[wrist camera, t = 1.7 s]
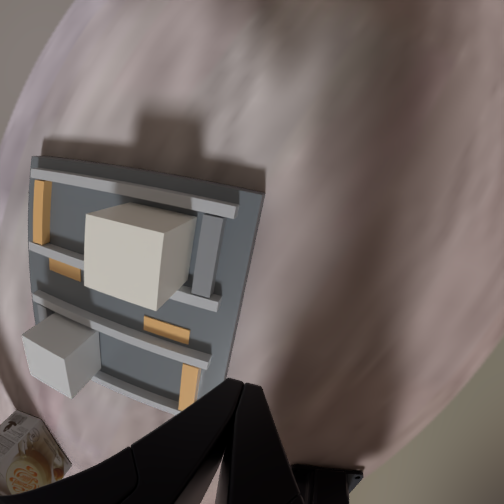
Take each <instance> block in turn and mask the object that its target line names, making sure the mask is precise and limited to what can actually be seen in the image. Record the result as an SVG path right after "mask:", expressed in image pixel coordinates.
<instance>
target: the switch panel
mask: <svg viewBox="0 0 504 504" xmlns="http://www.w3.org/2000/svg"><path fill="white" fill-rule="evenodd" d="M264 197H265V193H263V192H258V191H254V190H249V189H244V188H240V187H235V186H230V185H225V184H220V183H215V182H210V181H205V180H200V179H195V178H189V177H184V176H178V175H173V174H167V173H161V172H156V171H150V170H144V169H137V168H131V167H125V166H118V165H111V164H105V163H98V162H90V161H83V160H75V159H67V158H59V157H50V156H32V159H31V169H30V183H29V202H28V249H29V269H30V282H31V292H32V302H33V310H34V317H35V324H36V325H37V324H38V323H40V322H41V321H43V320H44V319H46V318H47V317H49V316H50V315H52V314H53V313H55V312H57V313H59V314H61V315H63V316H65V317H68V318H70V319H72V320H74V321H76V322H79V323H81V324H83V325H85V326H88V327H90V328H92V329H95V330H97V331H99V344H100V358H101V369H100V370H99V371H98V372H97V373H96V374H95V375H94V377H93V378H92V379H91V380H92V381H94V382H96V383H98V384H100V385H102V386H104V387H106V388H109V389H111V390H113V391H115V392H118V393H120V394H122V395H124V396H127V397H129V398H132V399H134V400H136V401H139V402H141V403H144V404H146V405H149V406H152V407H154V408H157V409H160V410H162V411H165V412H168V413H171V414H173V415H177V414H178V413H180V412H181V411H183V410H184V409H185V408H187V407H188V406H190V405H191V404H193V403H194V402H195V401H197V400H198V399H200V398H201V397H202V396H204V395H205V394H206V393H208V392H209V391H211V390H212V389H213V388H215V387H216V386H217V385H219V384H220V383H221V382H223V381H224V380H225V379H226V377H227V372H228V367H229V363H230V358H231V353H232V348H233V344H234V339H235V334H236V330H237V325H238V320H239V315H240V311H241V306H242V301H243V297H244V292H245V287H246V282H247V278H248V273H249V268H250V263H251V259H252V254H253V249H254V245H255V240H256V235H257V230H258V226H259V221H260V216H261V211H262V207H263V202H264ZM129 202H132V203H136V204H141V205H146V206H150V207H155V208H160V209H164V210H169V211H173V212H178V213H182V214H187V215H191V216H196V217H197V221H196V227H195V234H194V240H193V247H192V254H191V261H190V268H189V275H188V280H187V281H186V282H185V283H184V284H183V285H182V286H181V287H180V288H179V289H178V290H177V291H176V292H175V293H174V294H173V295H172V296H171V297H170V298H169V299H168V300H167V301H166V302H165V303H164V304H163V305H162V306H161V307H160V308H159V309H158V310H157V311H154V310H151V309H148V308H145V307H142V306H139V305H136V304H133V303H130V302H127V301H124V300H121V299H119V298H116V297H113V296H110V295H107V294H105V293H102V292H99V291H97V290H94V289H91V288H89V287H86V286H84V242H85V220H86V214H88V213H91V212H95V211H99V210H102V209H106V208H110V207H114V206H117V205H121V204H125V203H129Z"/></svg>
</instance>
